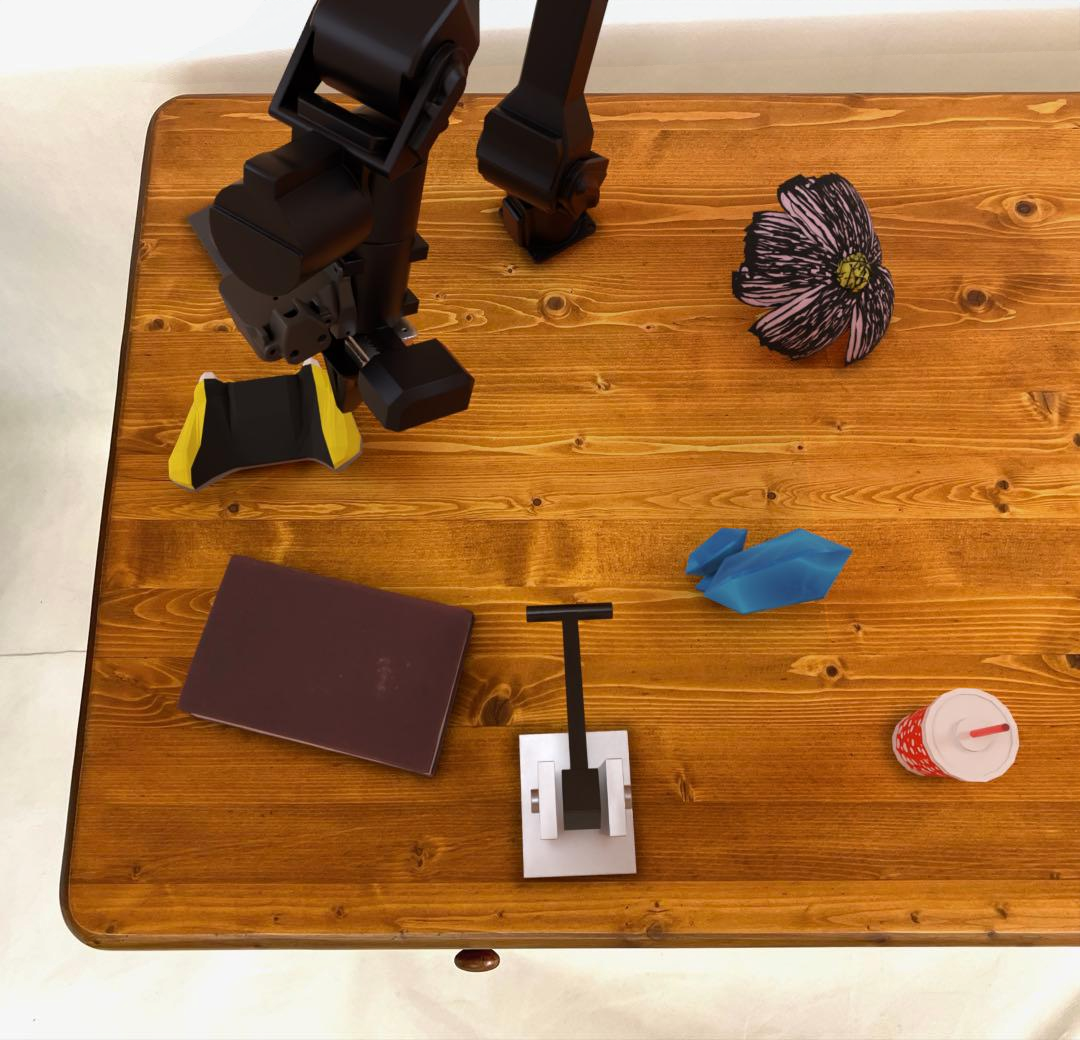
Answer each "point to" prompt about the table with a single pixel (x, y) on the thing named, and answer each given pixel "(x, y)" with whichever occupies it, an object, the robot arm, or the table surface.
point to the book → (329, 664)
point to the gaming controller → (262, 427)
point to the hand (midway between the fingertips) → (345, 409)
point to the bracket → (543, 808)
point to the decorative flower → (816, 271)
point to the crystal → (766, 569)
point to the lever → (575, 713)
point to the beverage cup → (958, 737)
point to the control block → (208, 238)
